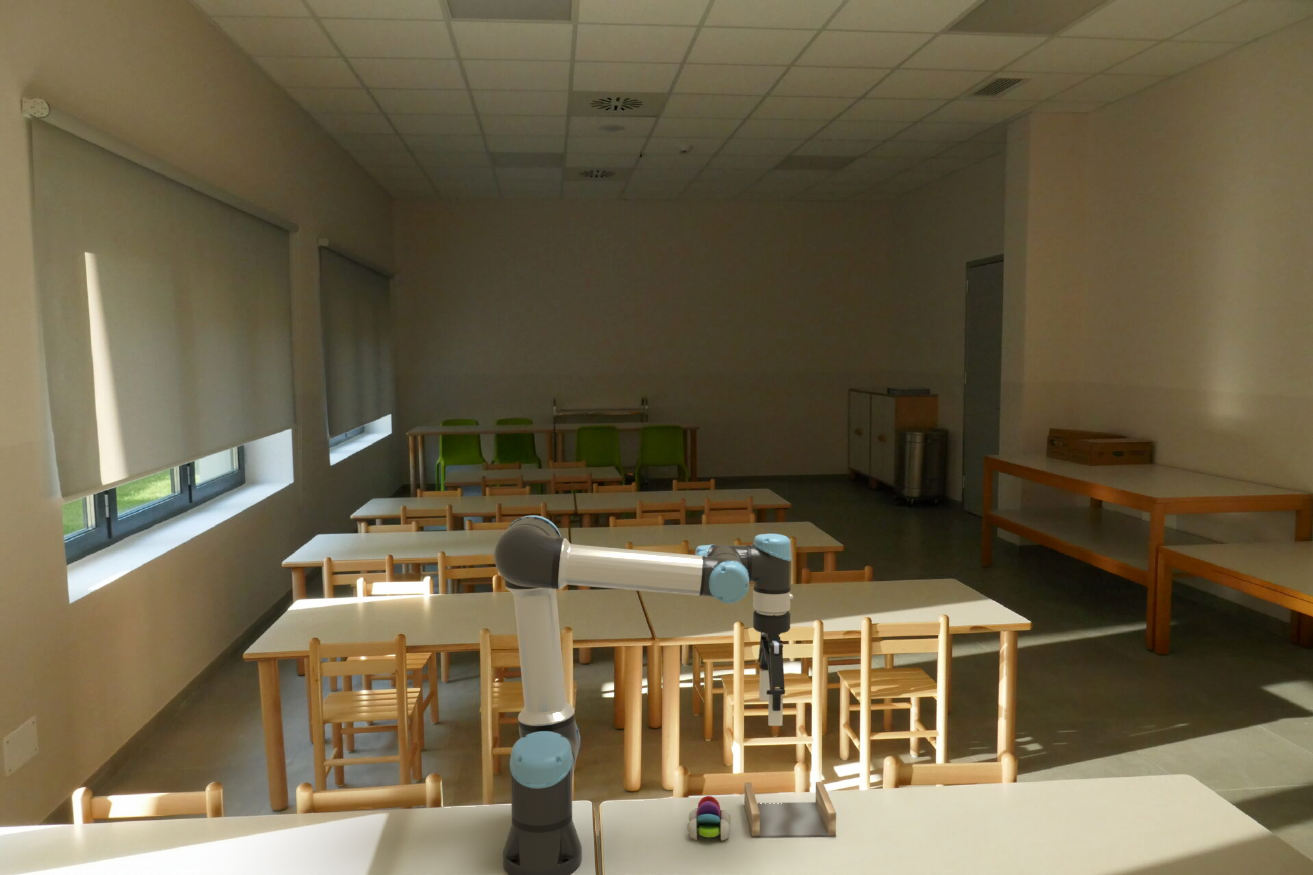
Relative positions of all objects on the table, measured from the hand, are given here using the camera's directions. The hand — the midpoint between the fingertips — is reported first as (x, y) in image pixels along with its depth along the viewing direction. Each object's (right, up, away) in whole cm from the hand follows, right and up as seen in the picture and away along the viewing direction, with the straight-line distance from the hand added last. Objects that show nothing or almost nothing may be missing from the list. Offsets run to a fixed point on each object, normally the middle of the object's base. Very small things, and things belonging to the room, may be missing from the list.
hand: (770, 712), depth 192 cm
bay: (+4, -24, +4) cm, 25 cm away
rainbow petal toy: (-13, -25, -1) cm, 28 cm away
